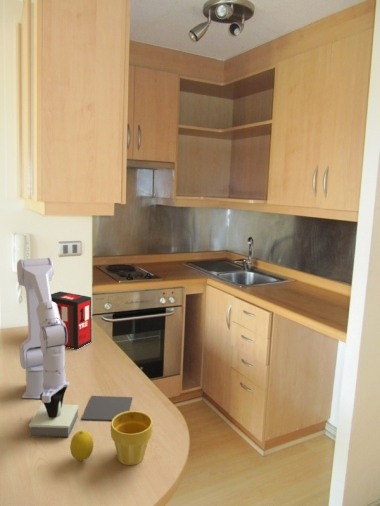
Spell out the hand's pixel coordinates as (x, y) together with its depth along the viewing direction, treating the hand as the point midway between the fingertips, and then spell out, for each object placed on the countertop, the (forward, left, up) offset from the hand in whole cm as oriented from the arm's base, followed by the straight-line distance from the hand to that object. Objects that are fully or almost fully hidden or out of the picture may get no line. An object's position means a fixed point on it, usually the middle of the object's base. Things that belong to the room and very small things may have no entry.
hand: (54, 413), depth 118 cm
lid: (0, 0, -2) cm, 2 cm away
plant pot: (+12, +23, -4) cm, 26 cm away
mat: (-10, +13, -4) cm, 17 cm away
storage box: (0, 0, -4) cm, 4 cm away
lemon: (+14, +11, -4) cm, 18 cm away
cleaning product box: (-60, -13, -4) cm, 62 cm away
